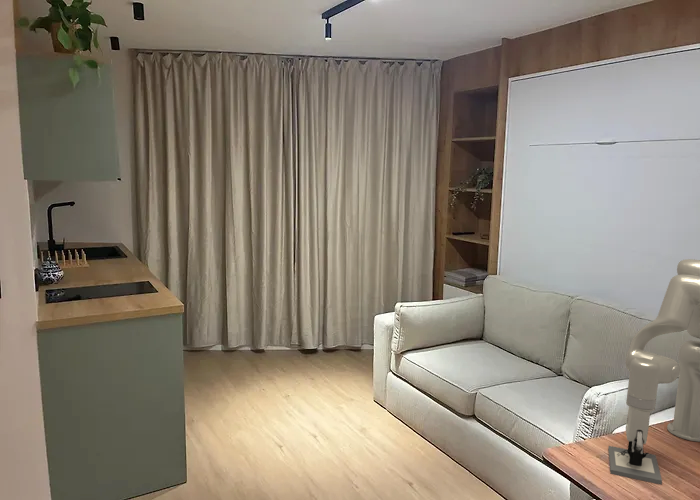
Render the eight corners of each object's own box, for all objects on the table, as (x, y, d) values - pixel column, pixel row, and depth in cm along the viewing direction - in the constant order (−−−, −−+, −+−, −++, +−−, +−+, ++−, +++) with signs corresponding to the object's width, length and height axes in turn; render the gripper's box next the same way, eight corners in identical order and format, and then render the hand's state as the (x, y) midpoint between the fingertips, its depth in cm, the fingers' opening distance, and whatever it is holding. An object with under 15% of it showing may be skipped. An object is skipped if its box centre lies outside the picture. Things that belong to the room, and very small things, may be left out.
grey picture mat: (608, 449, 177) (608, 445, 177) (655, 458, 172) (655, 454, 172) (610, 473, 162) (610, 469, 162) (661, 484, 157) (662, 480, 157)
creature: (620, 468, 164) (650, 468, 163) (619, 451, 163) (649, 451, 162) (614, 454, 172) (642, 453, 170) (613, 437, 171) (641, 437, 169)
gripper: (624, 388, 174) (618, 444, 176) (628, 409, 158) (621, 470, 160) (652, 393, 171) (645, 449, 173) (659, 415, 155) (651, 476, 157)
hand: (634, 458), depth 167 cm, fingers closed on creature, 6 cm apart
